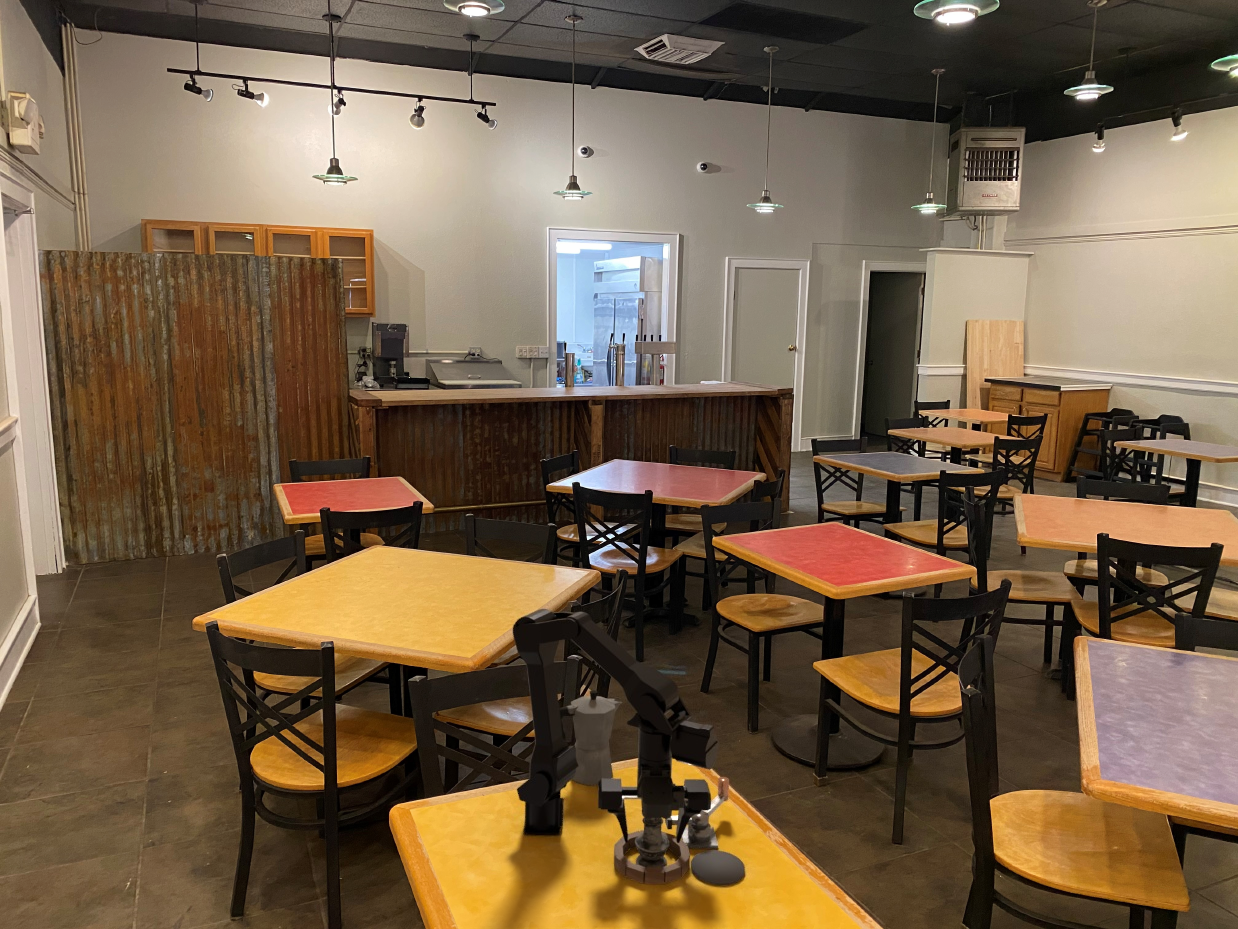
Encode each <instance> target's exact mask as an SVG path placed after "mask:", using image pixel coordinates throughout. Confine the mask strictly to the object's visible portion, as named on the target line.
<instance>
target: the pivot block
mask: <svg viewBox="0 0 1238 929" xmlns="http://www.w3.org/2000/svg"><path fill="white" fill-rule="evenodd" d="M715 832H716V831H715V828H714V826H711V824H710V823H709V826H708V827H707V828H705V829H696V828H693V827H692V826H691V825H687V826H686V828H685V830H684V833H683V835H682V837H681V840H682V841H683V842H684V843H686V844H687V846H688V849H691V850H692V849H696V850H697V849H700V850H701V849H702V850H703V849H704V850H705V849H706V850H708V849H709V850H717V849H718V850H719V842H718V839H717V835H716V833H715Z"/></svg>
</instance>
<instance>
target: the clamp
mask: <svg viewBox="0 0 1238 929" xmlns="http://www.w3.org/2000/svg"><path fill="white" fill-rule="evenodd" d="M729 789H730V779H729V777H727V776H721V777H718V781H717V795H716V796H715V798H713V799H711V809H710V810H701V813H700V814H695V815H693V816H692V817H691V818H690V820H689V822H688V823H687V826H688V825H691V826H692V827H693V828H696V829H705V828H707V827H708V826H709V824H710V820H709V819H710V817H711V815H712V814H713V813H714V812H715V811H716V810H718V808H719V807H720V806H722V804H723V803H724V802H727V801H728V800H729V794H730V793H729V792H730V791H729ZM677 820H678V815H671V817H670V818H668V819H664V824H665V826H666V829H667V830H673V826H677Z"/></svg>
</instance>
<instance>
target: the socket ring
mask: <svg viewBox="0 0 1238 929" xmlns="http://www.w3.org/2000/svg"><path fill="white" fill-rule="evenodd" d="M643 832H644V829H640V830H636V831H633V832H630V833H628V843H625V840H624V837H623V835H622V836H621V838H619V840H617V842H615V844H614V846H613V848H614V850H613V859H614V860H613V861H614V862H613V863H614V869H616V870H617V871H618V872H619V873H620V874H621V875H622V876H623V877H624V878H626V879H629V880H631V881H634V882H638V883H641V884H645V885H664V884H668V883H671V882H674V881H677V880H680V879H682V878H683V877H684V876H685V874H686V873H687V872H688V870H689V869H690V867H691V854H690V850H689V849H688V846H687V844H686V843H684V842H683V841H682V839H681V840H680V842H679V843H677V841H676V834H675V835H674V834H672V833H669V832H665V831H662V830H661V833H662V835H664V836H665V837H666V838H668V840H669V843H670V844H669V847H668V848H667V850H670V851H671V853H673V854H675V856H677V857H678V858H677V859H676V861H675V862H673V863H671V864H668V865H666V866H665V867H643V866H640V865H637V863H634V862H632V861H631V860H629V859H628V858H627V857H626V856H625V854H627V853H628V851H629V850H632V849H635V848H637V846H636V845H635V839H636V838H637V836H639V835H641V834H643Z"/></svg>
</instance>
